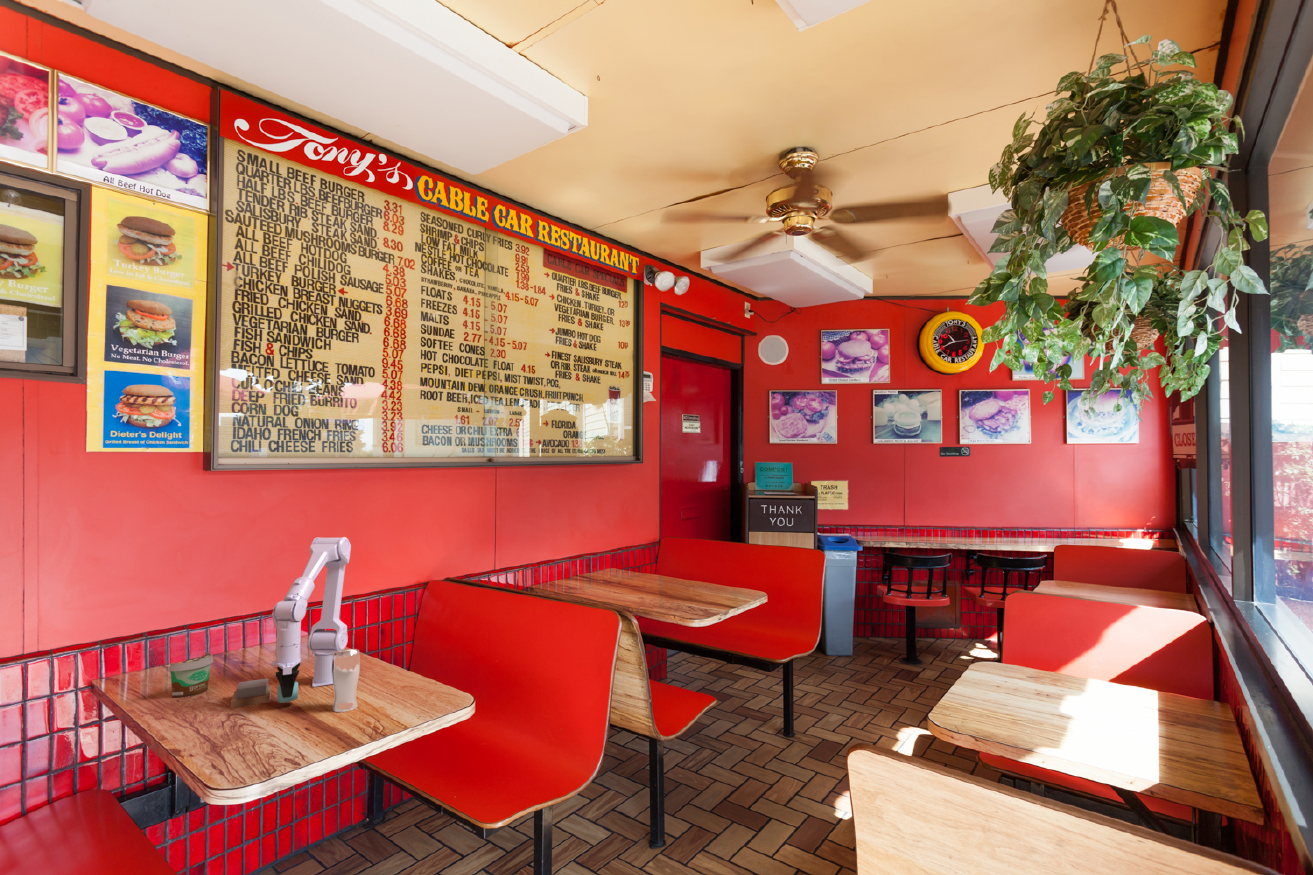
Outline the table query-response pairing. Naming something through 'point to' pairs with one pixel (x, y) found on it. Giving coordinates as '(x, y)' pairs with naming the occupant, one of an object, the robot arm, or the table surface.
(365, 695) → the table surface
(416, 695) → the table surface
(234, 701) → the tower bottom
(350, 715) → the table surface
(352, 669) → the beer glass
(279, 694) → the teal domed cylinder
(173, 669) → the food container
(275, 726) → the table surface
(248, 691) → the tower top
